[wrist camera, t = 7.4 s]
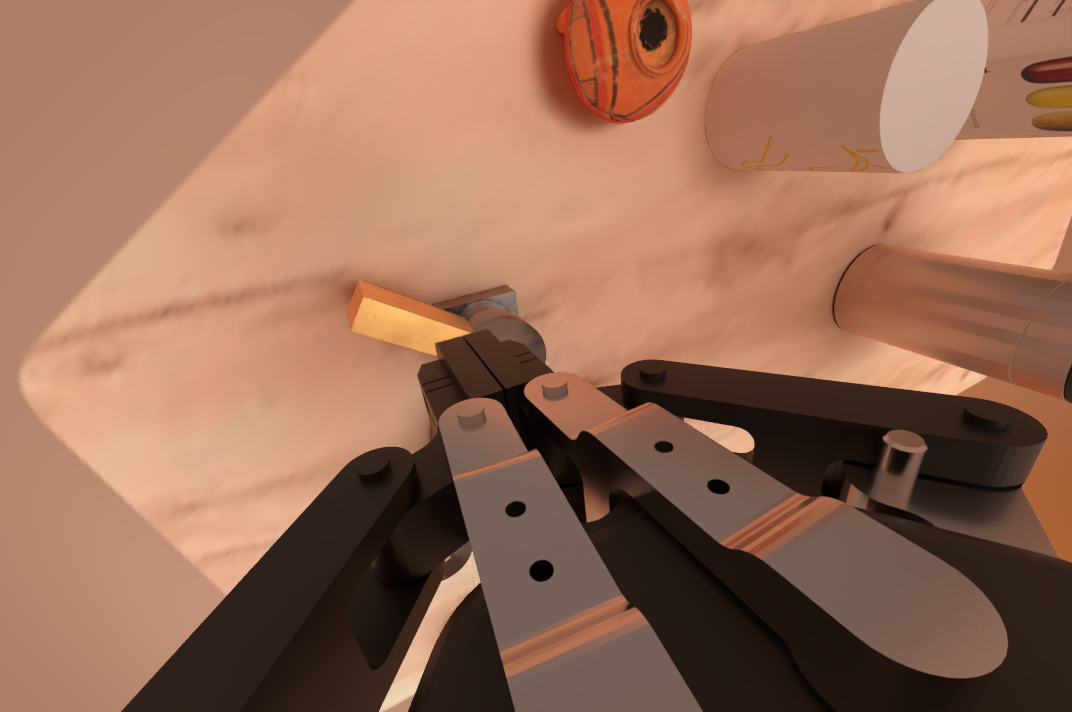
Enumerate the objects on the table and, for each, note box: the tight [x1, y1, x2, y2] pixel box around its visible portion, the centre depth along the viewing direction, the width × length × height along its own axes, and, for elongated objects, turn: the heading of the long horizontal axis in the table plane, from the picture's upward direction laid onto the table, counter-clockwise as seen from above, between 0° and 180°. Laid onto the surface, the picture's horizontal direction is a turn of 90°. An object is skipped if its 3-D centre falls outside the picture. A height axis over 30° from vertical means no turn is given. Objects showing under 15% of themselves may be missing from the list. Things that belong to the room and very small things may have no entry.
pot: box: [557, 0, 692, 123], centre depth 25 cm, size 8×8×7 cm
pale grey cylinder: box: [705, 0, 988, 173], centre depth 28 cm, size 8×8×12 cm
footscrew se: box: [348, 281, 546, 364], centre depth 25 cm, size 11×5×5 cm, turn 63°
